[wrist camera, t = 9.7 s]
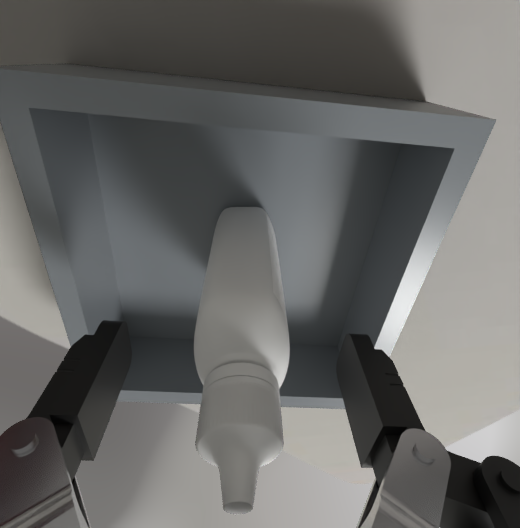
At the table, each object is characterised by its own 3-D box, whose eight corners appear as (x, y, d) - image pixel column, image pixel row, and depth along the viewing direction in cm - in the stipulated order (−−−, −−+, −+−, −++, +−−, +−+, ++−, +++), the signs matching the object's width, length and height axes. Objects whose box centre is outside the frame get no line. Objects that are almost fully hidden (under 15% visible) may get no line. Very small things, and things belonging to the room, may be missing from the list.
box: (65, 63, 14) (-18, 66, 10) (426, 101, 15) (496, 119, 11) (118, 335, 22) (87, 400, 18) (345, 346, 23) (365, 409, 19)
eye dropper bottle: (306, 227, 17) (387, 475, 7) (255, 301, 20) (261, 558, 10) (232, 189, 16) (199, 423, 6) (188, 272, 18) (113, 535, 8)
